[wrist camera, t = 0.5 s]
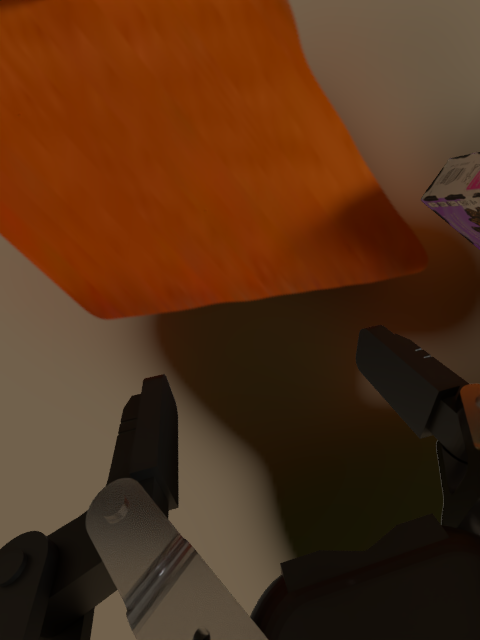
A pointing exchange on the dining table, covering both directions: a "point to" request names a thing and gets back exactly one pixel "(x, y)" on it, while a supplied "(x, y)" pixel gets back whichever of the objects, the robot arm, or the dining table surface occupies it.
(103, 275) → the dining table surface
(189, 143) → the dining table surface
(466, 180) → the candy box
